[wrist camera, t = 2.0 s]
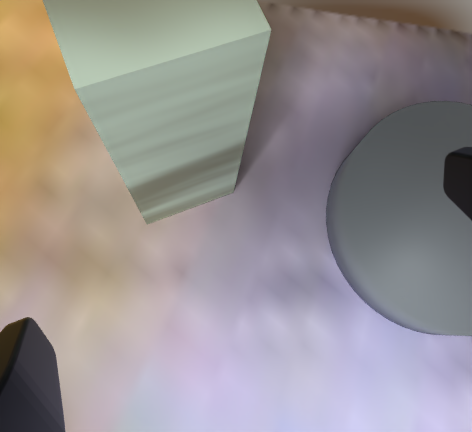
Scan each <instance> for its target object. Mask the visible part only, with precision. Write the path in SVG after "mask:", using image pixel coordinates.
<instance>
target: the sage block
mask: <svg viewBox="0 0 472 432" xmlns="http://www.w3.org/2000/svg"><path fill="white" fill-rule="evenodd" d="M43 2H44V5H45V8H46V11H47V14H48V16H49V19H50V22H51V25H52V27H53V30H54V33H55V36H56V39H57V41H58V44H59V47H60V50H61V52H62V55H63V58H64V61H65V64H66V66H67V69H68V72H69V75H70V77H71V80H72V83H73V86H74V89H75V91H76V93H77V94H78V96H79V98H80V100H81V102H82V104H83V106H84V108H85V109H86V111H87V113H88V115H89V117H90V119H91V121H92V123H93V124H94V126H95V128H96V130H97V132H98V134H99V136H100V137H101V139H102V141H103V143H104V145H105V147H106V149H107V151H108V152H109V154H110V156H111V158H112V160H113V162H114V164H115V166H116V167H117V169H118V171H119V173H120V175H121V177H122V179H123V181H124V182H125V184H126V186H127V188H128V190H129V192H130V194H131V196H132V197H133V199H134V201H135V203H136V205H137V207H138V209H139V210H140V212H141V214H142V216H143V218H144V220H145V222H146V224H150V223H153V222H155V221H158V220H161V219H163V218H166V217H169V216H171V215H174V214H177V213H179V212H182V211H185V210H188V209H190V208H193V207H196V206H198V205H201V204H204V203H206V202H209V201H212V200H215V199H217V198H220V197H223V196H225V195H228V194H231V193H233V192H234V188H235V184H236V179H237V175H238V171H239V166H240V162H241V158H242V154H243V149H244V145H245V141H246V136H247V132H248V128H249V123H250V119H251V115H252V111H253V106H254V102H255V98H256V93H257V89H258V85H259V81H260V76H261V72H262V68H263V63H264V59H265V55H266V50H267V46H268V42H269V38H270V33H271V28H270V26H269V24H268V22H267V20H266V18H265V16H264V14H263V12H262V10H261V8H260V6H259V4H258V2H257V0H43Z"/></svg>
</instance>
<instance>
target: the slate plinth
mask: <svg viewBox="0 0 472 432" xmlns="http://www.w3.org/2000/svg"><path fill="white" fill-rule="evenodd" d="M462 147H472V105H470V104H465V103H460V102H450V101H432V102H425V103H419V104H415V105H412V106H408V107H405V108H403V109H401V110H398V111H396V112H394V113H392V114H390V115H389V116H387V117H386V118H384V119H383V120H381V121H380V122H379V123H378V124H377V125H375V126H374V127H373V128H372V129H371V130H370V131H369V132H368V134H367V135H366V136H365V137H364V138H363V139H362V141H361V142H360V143H359V144H358V145H357V146H356V148H355V149H354V150H353V151H352V152H351V153H350V155H349V156H348V157H347V158H346V159H345V161H344V162H343V163H342V165H341V166H340V168H339V170H338V171H337V173H336V175H335V177H334V180H333V182H332V184H331V188H330V191H329V195H328V200H327V208H326V225H327V233H328V239H329V242H330V246H331V250H332V253H333V255H334V258H335V260H336V263H337V265H338V267H339V269H340V270H341V272H342V274H343V276H344V278H345V279H346V280H347V282H348V283H349V285H350V286H351V287H352V289H353V290H354V291H355V292H356V293H357V294H358V295H359V297H360V298H361V299H362V300H363V301H364V302H365V303H366V304H368V305H369V306H370V307H371V308H372V309H374V310H375V311H376V312H377V313H379V314H381V315H382V316H384V317H385V318H387V319H388V320H390V321H392V322H394V323H396V324H398V325H400V326H402V327H405V328H408V329H411V330H414V331H417V332H422V333H427V334H433V335H454V336H472V221H471V220H470V219H469V218H468V217H467V216H466V215H465V214H464V213H463V212H462V211H461V210H460V209H459V208H458V207H457V206H456V205H455V204H454V203H453V202H452V201H451V200H450V199H449V198H448V197H447V196H446V194H445V192H444V189H443V177H444V161H445V157H446V155H447V154H448V153H450V152H452V151H455V150H457V149H460V148H462Z"/></svg>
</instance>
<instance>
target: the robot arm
mask: <svg viewBox="0 0 472 432" xmlns="http://www.w3.org/2000/svg"><path fill="white" fill-rule="evenodd" d="M443 189H444V192H445V194H446V196H447V197H448V198H449V199H450V200H451V201H452V202H453V203H454V204H455V205H456V206H457V207H458V208H459V209H460V210H461V211H462V212H463V213H464V214H465V215H466V216H467V217H468V218H469V219H470V220H471V221H472V147H462V148H460V149H457V150H455V151H452V152H450V153H448V154H447V155H446V157H445V161H444V177H443ZM0 432H65V423H64V414H63V407H62V399H61V391H60V383H59V376H58V368H57V360H56V355H55V351H54V349H53V347H52V345H51V343H50V342H49V340H48V339H47V338H46V336H45V335H44V333H43V332H42V330H41V329H40V327H39V326H38V325H37V323H36V322H35V321H34V320H33V319H32V318H29V317H26V318H23V319H21V320H18V321H16V322H13V323H11V324H8V325H7V326H5V328H4V329H3V330H2V331H1V332H0Z"/></svg>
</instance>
